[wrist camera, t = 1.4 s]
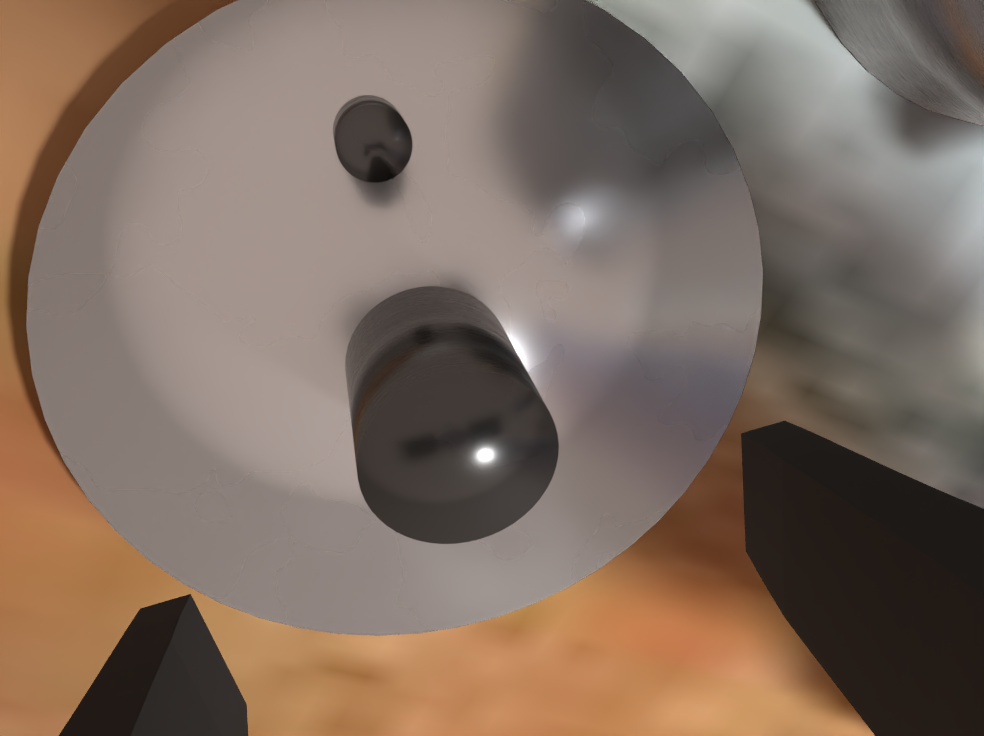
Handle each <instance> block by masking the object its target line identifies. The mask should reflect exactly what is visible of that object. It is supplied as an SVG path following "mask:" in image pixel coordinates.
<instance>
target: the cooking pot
mask: <svg viewBox="0 0 984 736" xmlns="http://www.w3.org/2000/svg"><path fill="white" fill-rule="evenodd" d="M815 1H816V3H817V5H818V7H819V9H820V10H821V12H822V13H823V15H824V16H825V18H826V19H827V21H828V22H829V24H830V25H831V27H832V29H833V30H834V32H835V33H836V35H837V36H838V38H839V39H840V41H841V42H842V43H843V45H844V46H845V47H846V48H847V49H848V50H849V51H850V52H851V53H852V54H853V56H854V57H855V58H856V59H857V60H858V61H859V62H860V63H861V64H862V65H863V67H864V68H865V69H866V70H867V71H868V72H869V73H871V74H872V75H873V76H875V77H876V78H877V79H878V80H880V81H881V82H882V83H884V84H885V85H886V86H887V87H889V88H890V89H891V90H893V91H894V92H895V93H897V94H898V95H900V96H902V97H904V98H906V99H908V100H910V101H912V102H914V103H916V104H918V105H919V106H921V107H923V108H925V109H927V110H930V111H933V112H936V113H939V114H943V115H946V116H949V117H952V118H956V119H959V120H962V121H966V122H970V123H974V124H978V125H982V126H984V0H815Z"/></svg>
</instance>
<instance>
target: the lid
mask: <svg viewBox="0 0 984 736" xmlns="http://www.w3.org/2000/svg"><path fill="white" fill-rule="evenodd" d="M762 284H763V269H762V258H761V247H760V236H759V229H758V225H757V221H756V216H755V212H754V208H753V204H752V199H751V195H750V191H749V188H748V185H747V183H746V180H745V178H744V175H743V173H742V170H741V168H740V165H739V162H738V160H737V157H736V155H735V152H734V150H733V148H732V146H731V144H730V143H729V141H728V139H727V137H726V136H725V134H724V132H723V130H722V129H721V127H720V125H719V123H718V122H717V120H716V118H715V116H714V115H713V113H712V111H711V109H710V108H709V107H708V106H707V104H706V103H705V102H704V101H703V99H702V98H701V97H700V95H699V94H698V93H697V92H696V90H695V89H694V88H693V87H692V85H691V84H690V83H689V81H688V80H687V79H686V78H685V76H684V75H683V74H682V73H681V72H680V71H679V70H678V69H677V68H676V67H675V66H674V65H673V64H672V63H671V62H670V61H669V60H668V59H666V58H665V57H664V56H663V55H662V54H661V53H660V52H659V51H658V50H657V49H656V48H655V47H654V46H653V45H652V44H650V43H649V42H648V41H647V40H646V39H645V38H644V37H642V36H641V35H639V34H638V33H636V32H635V31H633V30H632V29H630V28H629V27H628V26H626V25H625V24H623V23H622V22H620V21H619V20H617V19H616V18H614V17H613V16H612V15H610V14H609V13H607V12H606V11H604V10H603V9H601V8H599V7H597V6H595V5H592V4H590V3H588V2H586V1H584V0H237V1H234V2H232V3H230V4H228V5H226V6H224V7H221V8H219V9H217V10H216V11H214V12H213V13H211V14H210V15H208V16H207V17H205V18H203V19H202V20H200V21H199V22H197V23H196V24H194V25H193V26H191V27H190V28H188V29H187V30H185V31H184V32H182V33H181V34H179V35H178V36H176V37H175V38H173V39H172V40H170V41H169V42H167V43H166V44H164V45H163V46H162V47H161V48H160V49H159V50H158V51H157V52H156V53H154V54H153V55H152V56H151V57H150V58H149V59H148V60H147V61H146V62H145V63H143V64H142V65H141V66H140V67H139V68H138V69H137V70H136V71H135V72H134V73H132V74H131V75H130V76H129V77H128V78H127V79H126V80H125V81H124V82H123V83H121V85H120V86H119V87H118V88H117V90H116V91H115V92H114V93H113V95H112V96H111V97H110V98H109V99H108V101H107V102H106V103H105V104H104V106H103V107H102V108H101V109H100V111H99V112H98V113H97V114H96V116H95V117H94V118H93V119H92V121H91V122H90V123H89V124H88V126H87V127H86V128H85V130H84V131H83V133H82V135H81V137H80V138H79V140H78V142H77V144H76V145H75V147H74V149H73V150H72V152H71V154H70V156H69V157H68V159H67V161H66V163H65V164H64V166H63V168H62V170H61V171H60V173H59V175H58V177H57V179H56V182H55V185H54V187H53V190H52V193H51V195H50V198H49V200H48V203H47V206H46V208H45V211H44V214H43V216H42V219H41V222H40V224H39V227H38V232H37V237H36V242H35V247H34V252H33V257H32V262H31V266H30V271H29V276H28V298H27V323H26V328H27V337H28V345H29V353H30V362H31V370H32V376H33V380H34V384H35V387H36V391H37V394H38V398H39V401H40V405H41V408H42V412H43V415H44V419H45V421H46V424H47V426H48V428H49V430H50V432H51V435H52V437H53V439H54V441H55V443H56V446H57V448H58V450H59V452H60V454H61V457H62V459H63V461H64V463H65V464H66V466H67V467H68V469H69V470H70V472H71V474H72V475H73V477H74V478H75V480H76V481H77V483H78V484H79V486H80V487H81V489H82V491H83V492H84V494H85V495H86V497H87V498H88V500H89V501H90V502H91V503H92V504H93V505H94V507H95V508H96V509H97V510H98V511H99V512H100V513H101V515H102V516H103V517H104V518H105V519H106V520H107V522H108V523H109V524H110V525H111V526H112V527H113V528H114V530H115V531H116V532H117V533H118V534H119V535H121V536H122V537H123V538H124V539H125V540H126V541H127V542H128V543H130V544H131V545H132V546H133V547H134V548H135V549H136V550H137V551H139V552H140V553H141V554H142V555H143V556H144V557H145V558H147V559H148V560H149V561H150V562H152V563H153V564H155V565H156V566H158V567H159V568H161V569H162V570H164V571H165V572H166V573H168V574H169V575H171V576H172V577H174V578H175V579H177V580H178V581H180V582H181V583H183V584H184V585H186V586H188V587H190V588H192V589H194V590H196V591H198V592H200V593H202V594H204V595H206V596H208V597H209V598H211V599H213V600H215V601H217V602H219V603H221V604H224V605H227V606H229V607H232V608H234V609H237V610H240V611H242V612H245V613H248V614H250V615H253V616H256V617H258V618H262V619H266V620H269V621H273V622H277V623H281V624H285V625H289V626H293V627H296V628H302V629H309V630H315V631H322V632H329V633H336V634H352V635H374V636H381V635H400V634H418V633H424V632H431V631H438V630H444V629H451V628H457V627H461V626H465V625H469V624H473V623H477V622H481V621H485V620H489V619H493V618H496V617H499V616H502V615H504V614H507V613H510V612H513V611H516V610H518V609H521V608H524V607H527V606H530V605H532V604H534V603H536V602H538V601H541V600H543V599H545V598H547V597H549V596H551V595H553V594H556V593H558V592H560V591H562V590H564V589H566V588H568V587H570V586H571V585H573V584H575V583H576V582H578V581H580V580H581V579H583V578H585V577H587V576H588V575H590V574H592V573H593V572H595V571H597V570H598V569H600V568H601V567H603V566H604V565H605V564H607V563H608V562H609V561H611V560H612V559H614V558H615V557H616V556H618V555H619V554H620V553H622V552H623V551H625V550H626V549H627V548H629V547H630V546H631V545H632V544H633V543H635V542H636V541H637V540H638V539H639V538H640V537H641V536H642V535H643V534H645V533H646V532H647V531H648V530H649V529H650V528H651V527H652V526H654V525H655V524H656V523H657V522H658V521H659V520H660V519H661V518H662V517H663V516H664V515H665V513H666V512H667V511H668V510H669V509H670V508H671V507H672V506H673V505H674V504H675V503H676V501H677V500H678V499H679V498H680V497H681V496H682V495H683V494H684V493H685V491H686V490H687V489H688V487H689V486H690V485H691V483H692V482H693V481H694V479H695V478H696V476H697V475H698V474H699V472H700V471H701V470H702V468H703V467H704V466H705V464H706V463H707V462H708V460H709V458H710V456H711V455H712V453H713V451H714V449H715V448H716V446H717V444H718V443H719V441H720V439H721V437H722V436H723V434H724V432H725V431H726V429H727V427H728V425H729V422H730V420H731V418H732V415H733V413H734V411H735V409H736V406H737V404H738V402H739V400H740V397H741V395H742V393H743V390H744V386H745V383H746V380H747V377H748V373H749V370H750V367H751V363H752V360H753V357H754V353H755V347H756V342H757V336H758V330H759V324H760V319H761V308H762Z"/></svg>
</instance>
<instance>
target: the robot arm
mask: <svg viewBox="0 0 984 736" xmlns="http://www.w3.org/2000/svg"><path fill="white" fill-rule="evenodd" d="M741 439H742V464H743V490H744V515H745V541H746V552H747V554H748V555H749V557H750V559H751V561H752V562H753V564H754V566H755V568H756V570H757V571H758V573H759V575H760V577H761V578H762V580H763V582H764V584H765V585H766V587H767V589H768V590H769V592H770V594H771V595H772V597H773V599H774V600H775V602H776V604H777V605H778V607H779V609H780V610H781V612H782V614H783V615H784V617H785V618H786V619H787V621H788V622H789V623H790V625H791V626H792V628H793V629H794V630H795V632H796V633H797V634H798V636H799V637H800V638H801V639H802V641H803V642H804V643H805V645H806V646H807V647H808V649H809V650H810V651H811V653H812V654H813V655H814V657H815V658H816V659H817V661H818V662H819V663H820V664H821V666H822V667H823V668H824V670H825V671H826V672H827V674H828V675H829V676H830V677H831V679H832V680H833V681H834V683H835V684H836V685H837V687H838V688H839V689H840V690H841V692H842V693H843V694H844V696H845V697H846V698H847V699H848V701H849V702H850V703H851V705H852V706H853V707H854V709H855V710H856V711H857V712H858V714H859V715H860V716H861V718H862V719H863V720H864V721H865V723H866V724H867V725H868V727H869V728H870V729H871V731H872V732H873V733H874V734H875V736H984V509H982V508H980V507H977V506H975V505H973V504H970V503H968V502H965V501H963V500H961V499H958V498H956V497H953V496H951V495H949V494H946V493H944V492H942V491H939V490H937V489H935V488H933V487H930V486H928V485H926V484H923V483H921V482H919V481H917V480H914V479H912V478H910V477H908V476H906V475H903V474H901V473H899V472H897V471H894V470H892V469H890V468H888V467H886V466H883V465H881V464H879V463H877V462H875V461H873V460H871V459H868V458H866V457H864V456H862V455H860V454H858V453H855V452H853V451H851V450H849V449H847V448H845V447H842V446H840V445H838V444H836V443H834V442H832V441H830V440H827V439H825V438H823V437H821V436H819V435H816V434H814V433H812V432H810V431H807V430H805V429H803V428H801V427H798V426H796V425H793V424H791V423H789V422H786V421H782V422H779V423H775V424H772V425H769V426H765V427H762V428H758V429H755V430H751V431H748V432H745V433H741ZM59 736H248V724H247V704H246V702H245V700H244V699H243V697H242V695H241V693H240V691H239V689H238V687H237V685H236V683H235V681H234V679H233V677H232V675H231V673H230V671H229V669H228V667H227V665H226V663H225V661H224V659H223V657H222V655H221V653H220V651H219V649H218V647H217V645H216V643H215V641H214V639H213V637H212V635H211V633H210V631H209V630H208V628H207V626H206V624H205V622H204V620H203V618H202V616H201V614H200V612H199V610H198V608H197V606H196V604H195V602H194V600H193V598H192V596H191V594H189V595H186V596H182V597H179V598H175V599H172V600H169V601H165V602H162V603H158V604H155V605H151V606H148V607H145V608H141V609H140V610H139V612H138V613H137V615H136V616H135V618H134V619H133V621H132V622H131V624H130V625H129V627H128V628H127V630H126V631H125V633H124V635H123V636H122V638H121V639H120V641H119V642H118V644H117V646H116V647H115V649H114V650H113V652H112V653H111V655H110V657H109V658H108V660H107V661H106V663H105V664H104V666H103V668H102V669H101V671H100V672H99V674H98V676H97V677H96V679H95V680H94V682H93V683H92V685H91V687H90V688H89V690H88V691H87V693H86V694H85V696H84V698H83V699H82V701H81V702H80V704H79V705H78V707H77V709H76V710H75V712H74V713H73V715H72V716H71V718H70V719H69V721H68V722H67V724H66V725H65V727H64V729H63V730H62V732H61V733H60V735H59Z"/></svg>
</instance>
